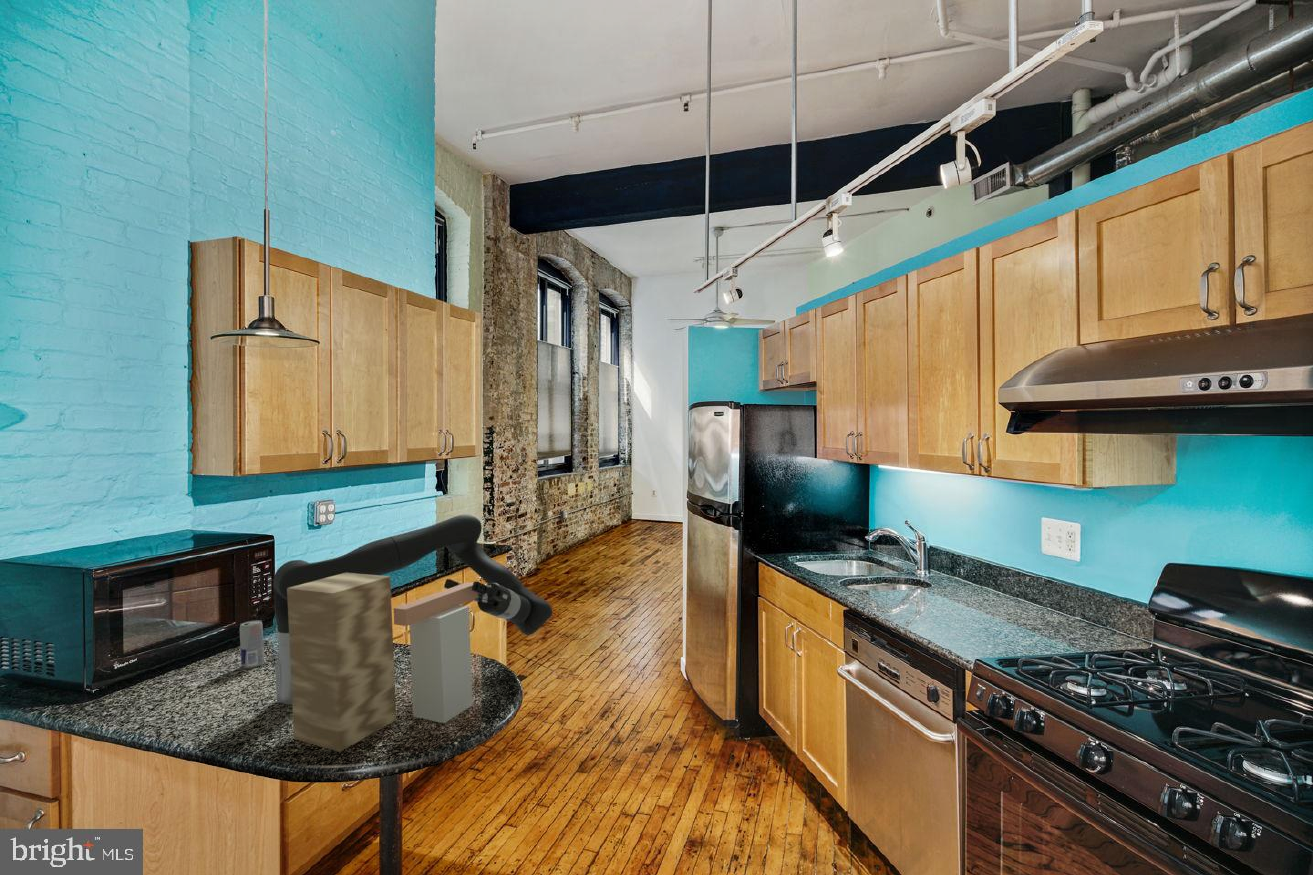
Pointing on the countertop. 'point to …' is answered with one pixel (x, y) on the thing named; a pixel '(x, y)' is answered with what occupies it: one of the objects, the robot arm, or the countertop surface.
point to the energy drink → (251, 644)
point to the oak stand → (341, 659)
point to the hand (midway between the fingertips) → (459, 584)
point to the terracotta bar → (433, 604)
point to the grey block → (441, 665)
